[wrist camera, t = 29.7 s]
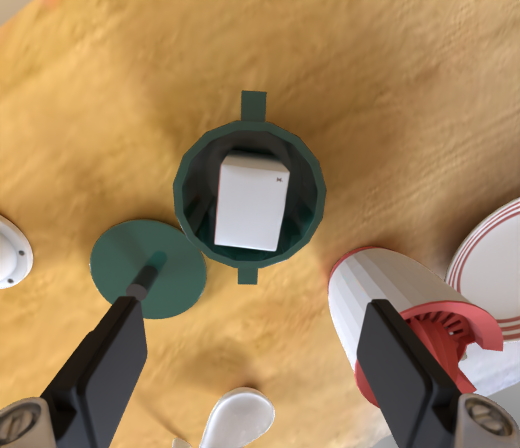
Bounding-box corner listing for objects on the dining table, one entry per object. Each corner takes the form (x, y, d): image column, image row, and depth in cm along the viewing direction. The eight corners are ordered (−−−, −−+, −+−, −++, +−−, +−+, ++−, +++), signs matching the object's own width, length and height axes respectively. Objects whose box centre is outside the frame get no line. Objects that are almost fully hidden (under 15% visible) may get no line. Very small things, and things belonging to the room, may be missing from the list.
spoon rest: (243, 366, 49) (242, 404, 43) (285, 397, 53) (290, 436, 46) (161, 429, 54) (148, 472, 48) (204, 454, 58) (198, 497, 51)
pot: (194, 251, 41) (179, 286, 32) (187, 95, 33) (165, 85, 24) (299, 253, 42) (313, 288, 33) (315, 102, 34) (339, 94, 25)
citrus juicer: (398, 323, 47) (497, 452, 29) (305, 309, 45) (345, 438, 27) (436, 244, 42) (586, 340, 23) (332, 225, 40) (406, 312, 22)
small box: (229, 148, 35) (220, 161, 23) (276, 154, 36) (292, 170, 24) (224, 206, 38) (213, 246, 26) (268, 212, 39) (277, 252, 26)
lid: (103, 314, 44) (81, 342, 38) (84, 215, 38) (55, 231, 32) (208, 314, 45) (202, 343, 39) (206, 218, 39) (198, 235, 33)
